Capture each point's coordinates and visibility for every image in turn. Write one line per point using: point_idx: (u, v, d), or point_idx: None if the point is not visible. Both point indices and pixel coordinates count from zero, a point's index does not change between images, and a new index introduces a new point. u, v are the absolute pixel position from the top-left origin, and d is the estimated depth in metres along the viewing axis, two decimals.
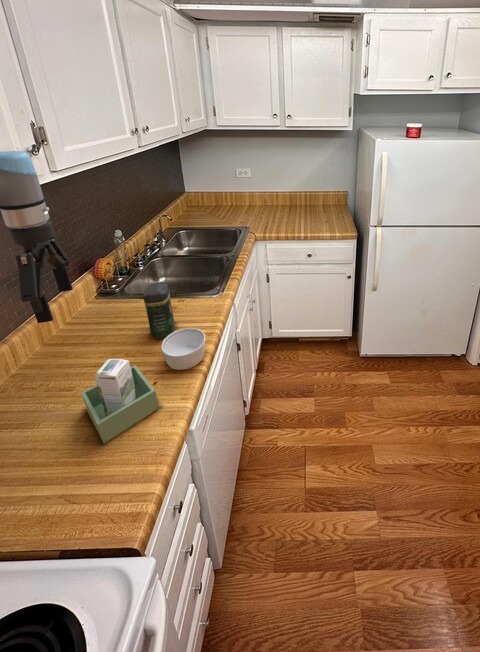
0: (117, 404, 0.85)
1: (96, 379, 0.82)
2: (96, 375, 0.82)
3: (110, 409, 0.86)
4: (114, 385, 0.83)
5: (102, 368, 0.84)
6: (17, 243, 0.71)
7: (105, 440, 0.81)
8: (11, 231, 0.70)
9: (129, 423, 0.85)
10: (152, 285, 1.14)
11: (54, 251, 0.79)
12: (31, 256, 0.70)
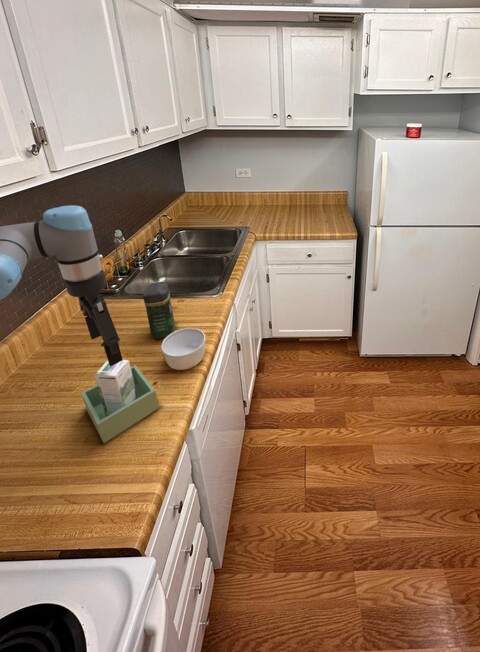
0: (117, 404, 0.85)
1: (96, 379, 0.82)
2: (96, 375, 0.82)
3: (110, 409, 0.86)
4: (114, 385, 0.83)
5: (102, 368, 0.84)
6: (82, 295, 0.72)
7: (105, 440, 0.81)
8: (76, 284, 0.71)
9: (129, 423, 0.85)
10: (152, 285, 1.14)
11: None
12: (105, 302, 0.73)
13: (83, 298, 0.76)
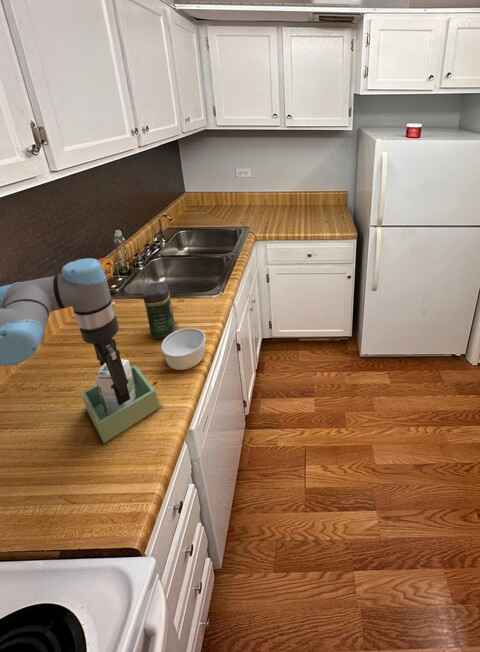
0: (117, 404, 0.85)
1: (96, 379, 0.82)
2: (96, 375, 0.82)
3: (110, 409, 0.86)
4: None
5: (102, 368, 0.84)
6: (96, 342, 0.77)
7: (105, 440, 0.81)
8: (91, 332, 0.76)
9: (129, 423, 0.85)
10: (152, 285, 1.14)
11: None
12: (119, 352, 0.78)
13: None
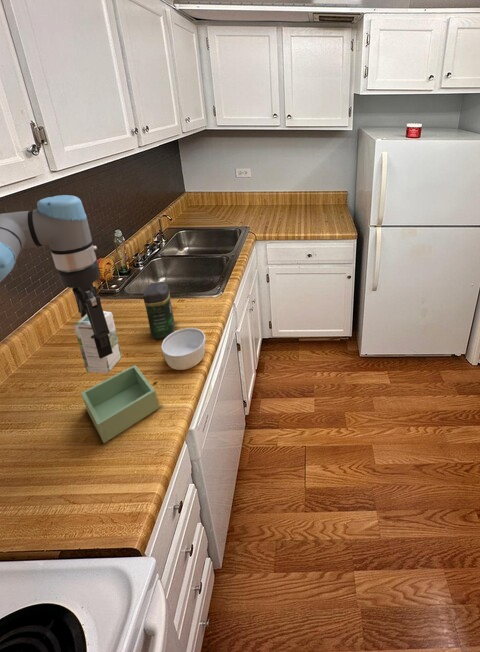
0: (99, 358, 0.80)
1: (76, 329, 0.77)
2: (76, 325, 0.77)
3: (91, 364, 0.81)
4: None
5: (83, 318, 0.79)
6: (75, 286, 0.72)
7: (105, 440, 0.81)
8: (69, 275, 0.71)
9: (129, 423, 0.85)
10: (152, 285, 1.14)
11: None
12: (99, 298, 0.73)
13: (76, 289, 0.76)
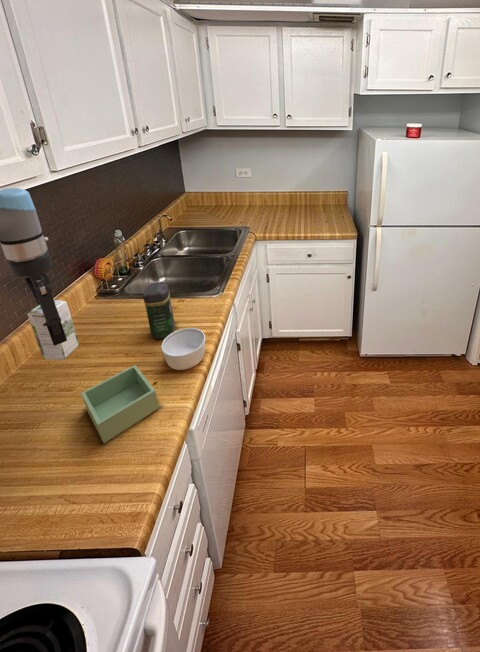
0: (53, 345, 0.83)
1: (30, 317, 0.80)
2: (29, 313, 0.80)
3: (46, 351, 0.84)
4: None
5: (37, 307, 0.82)
6: (25, 275, 0.75)
7: (105, 440, 0.81)
8: (18, 264, 0.74)
9: (129, 423, 0.85)
10: (152, 285, 1.14)
11: None
12: (49, 286, 0.76)
13: (28, 278, 0.79)
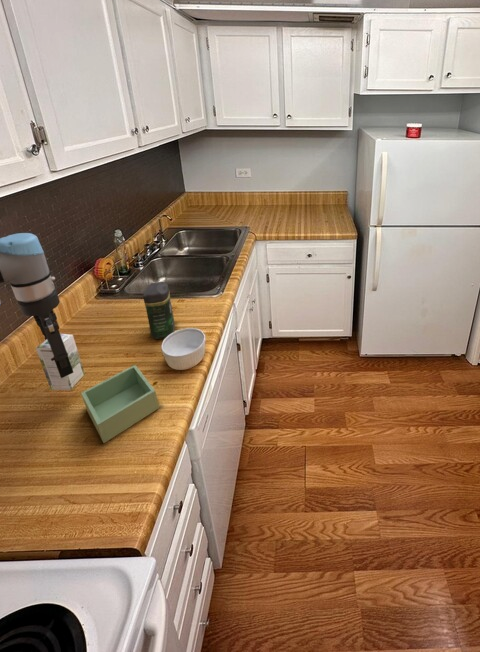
0: (60, 377, 0.87)
1: (38, 352, 0.85)
2: (38, 348, 0.84)
3: (54, 383, 0.88)
4: None
5: (45, 341, 0.86)
6: (34, 314, 0.79)
7: (105, 440, 0.81)
8: (28, 305, 0.78)
9: (129, 423, 0.85)
10: (152, 285, 1.14)
11: None
12: (57, 324, 0.80)
13: (37, 315, 0.83)
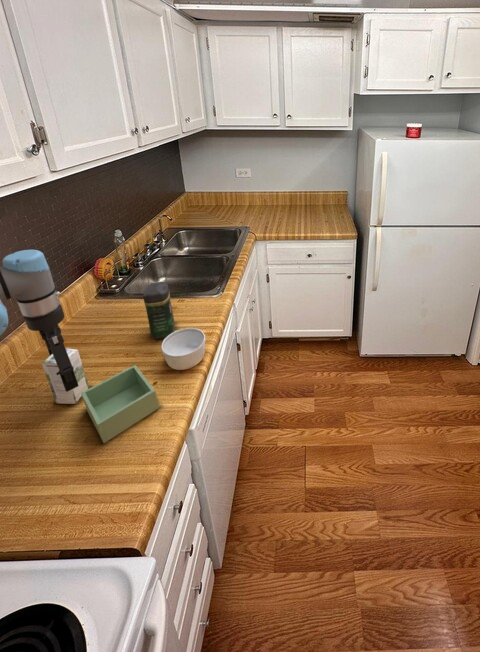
0: None
1: (44, 367, 0.86)
2: (44, 363, 0.86)
3: (59, 396, 0.90)
4: None
5: (51, 356, 0.88)
6: (39, 329, 0.81)
7: (105, 440, 0.81)
8: (33, 320, 0.80)
9: (129, 423, 0.85)
10: (152, 285, 1.14)
11: None
12: (61, 335, 0.82)
13: (42, 330, 0.85)
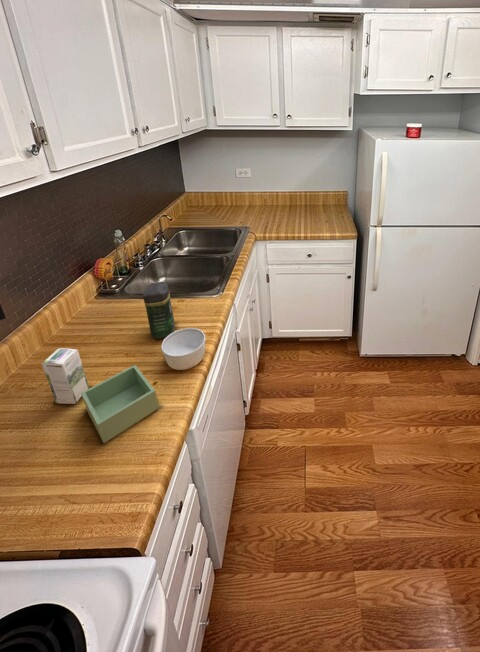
0: (66, 391, 0.89)
1: (44, 367, 0.86)
2: (43, 363, 0.86)
3: (59, 396, 0.90)
4: (61, 373, 0.87)
5: (51, 356, 0.88)
6: None
7: (105, 440, 0.81)
8: None
9: (129, 423, 0.85)
10: (152, 285, 1.14)
11: None
12: None
13: None
